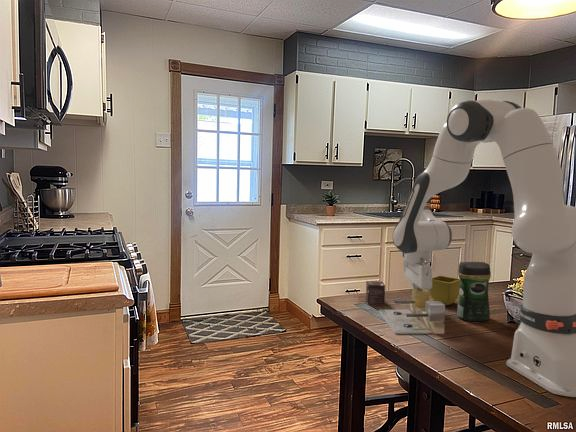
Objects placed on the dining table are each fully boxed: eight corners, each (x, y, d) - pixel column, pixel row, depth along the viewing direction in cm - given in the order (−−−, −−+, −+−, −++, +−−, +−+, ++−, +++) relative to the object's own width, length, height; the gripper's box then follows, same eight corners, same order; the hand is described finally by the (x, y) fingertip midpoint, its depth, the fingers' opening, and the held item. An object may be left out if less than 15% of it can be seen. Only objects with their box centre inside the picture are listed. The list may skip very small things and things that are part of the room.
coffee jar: (482, 314, 144) (485, 259, 143) (492, 322, 136) (495, 264, 135) (453, 314, 145) (455, 259, 143) (461, 321, 137) (463, 264, 135)
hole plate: (428, 333, 126) (429, 330, 126) (394, 333, 126) (395, 330, 126) (409, 312, 146) (409, 309, 146) (379, 312, 146) (379, 309, 146)
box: (365, 300, 161) (366, 280, 161) (381, 300, 161) (382, 281, 160) (368, 304, 155) (368, 284, 155) (384, 305, 155) (385, 285, 154)
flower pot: (426, 302, 158) (427, 278, 157) (438, 298, 164) (439, 275, 163) (449, 308, 151) (450, 283, 151) (461, 303, 157) (462, 279, 156)
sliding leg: (428, 306, 142) (429, 291, 142) (396, 306, 142) (396, 291, 141) (424, 303, 146) (425, 288, 146) (393, 303, 146) (393, 288, 145)
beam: (446, 333, 126) (447, 307, 126) (410, 333, 126) (410, 307, 126) (420, 308, 150) (421, 286, 150) (390, 308, 150) (390, 286, 150)
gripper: (438, 261, 136) (436, 304, 138) (418, 250, 157) (417, 288, 158) (418, 261, 136) (417, 304, 138) (400, 251, 157) (400, 288, 158)
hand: (417, 295), depth 148 cm, fingers closed
